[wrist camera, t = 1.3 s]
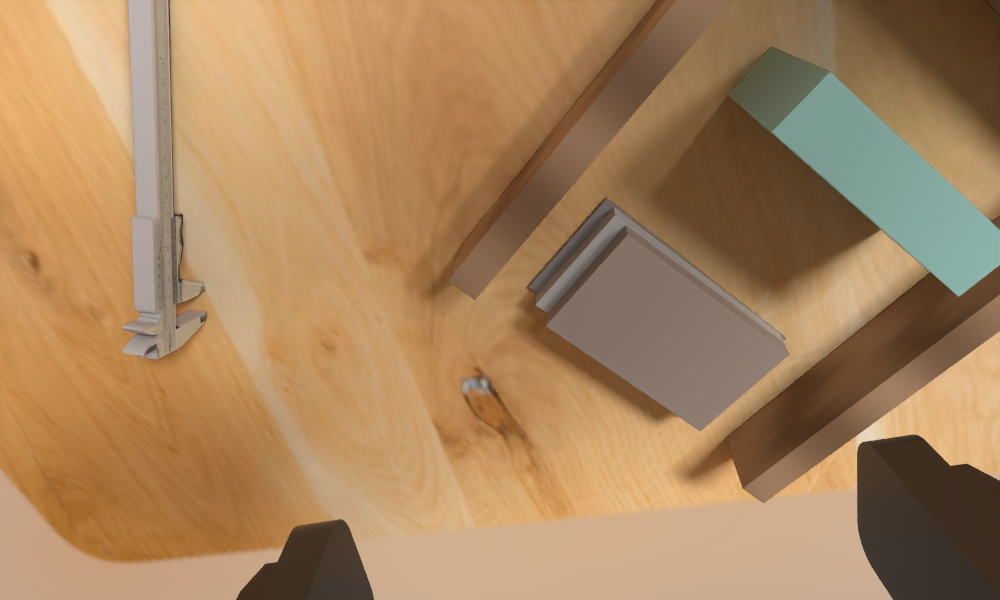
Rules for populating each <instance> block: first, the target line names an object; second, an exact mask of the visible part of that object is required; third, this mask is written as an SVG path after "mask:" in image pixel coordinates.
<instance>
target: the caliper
mask: <svg viewBox="0 0 1000 600" xmlns="http://www.w3.org/2000/svg"><path fill="white" fill-rule="evenodd" d="M128 11H129V37H130V62H131V86H132V110H133V135H134V159H135V183H136V208H137V215H136V216H134V217H133V218H131V221H132V251H133V281H134V307H135V311H140V312H141V316H139V317H138V319H137V321H133V322H130V323H128V324H125V325H123V326H122V329H123V330H126V331H128V332H132V333H139V334H137V335H135V336H134V337H133V338H132V339H131V340H130V341H129V342H128V343H127V345H126V346H125V348H124V350H123V353H126V354H133V355H138V357H145V358H152V359H159V358H161V357H163V356H165V355H167V354H169V353H171V352H173V351H175V350H177V349H179V348H180V347H181V346H182V345H183V344H184V343H185V342H186V341H187V340H188V339H189V338H190V337H191V336H192V335H193V334H194V333H195V332H196V331H197V330H198V329H199V328H200V327H201V326H202V325H203V324H204V323H205V321H206V318H207V312H203V311H196V310H188V311H186V312H184V313H182V314H180V315H178V316H176V305H177V304H178V303H179V302H180V303H182V302H185V301H187V300H189V299H192V298H194V297H196V296H198V295H199V293H202V292H205V287H204V283H203V282H196V281H189V280H182V279H179V265H180V264H181V257H182V250H183V238H182V225H183V214H182V213H176V212H174V189H173V149H172V109H171V63H170V12H169V0H128Z"/></svg>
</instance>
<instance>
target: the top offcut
mask: <svg viewBox="0 0 1000 600" xmlns="http://www.w3.org/2000/svg"><path fill="white" fill-rule="evenodd" d="M546 327H547V328H549V329H550V330H552V331H553V332H555V333H556V334H558V335H559V336H561V337H562V338H564V339H565V340H567V341H568V342H570V343H571V344H572V345H574V346H575V347H577V348H578V349H580V350H581V351H583V352H584V353H586V354H587V355H589V356H590V357H592V358H593V359H595V360H596V361H597V362H599V363H600V364H602V365H603V366H605V367H606V368H608V369H609V370H611V371H612V372H614V373H615V374H617V375H618V376H620V377H621V378H622V379H624V380H625V381H627V382H628V383H630V384H631V385H633V386H634V387H636V388H637V389H639V390H640V391H642V392H643V393H645V394H646V395H647V396H649V397H650V398H652V399H653V400H655V401H656V402H658V403H659V404H661V405H662V406H664V407H665V408H667V409H668V410H670V411H671V412H673V413H674V414H675V415H677V416H678V417H680V418H681V419H683V420H684V421H686V422H687V423H689V424H690V425H692V426H693V427H695V428H696V429H698V430H699V431H701V430H702V429H704V428H705V427H706V426H707V425H708V424H709V423H711V422H712V421H713V420H714V419H715V418H716V417H718V416H719V415H720V414H721V413H722V412H723V411H724V410H726V409H727V408H728V407H729V406H730V405H731V404H733V403H734V402H735V401H736V400H737V399H738V398H740V397H741V396H742V395H743V394H744V393H745V392H746V391H748V390H749V389H750V388H751V387H752V386H753V385H755V384H756V383H757V382H758V381H759V380H760V379H762V378H763V377H764V376H765V375H766V374H767V373H768V372H770V371H771V370H772V369H773V368H774V367H775V366H777V365H778V364H779V363H780V362H781V361H782V360H784V359H785V358H786V357H787V356H788V355H789V352H788V351H787V349H786V347H785V345H784V343H783V342H782V341H781V340H780V339H779V338H777V337H776V336H775V335H773V334H772V333H770V332H769V331H768V330H766V329H765V328H764V327H762V326H761V325H760V324H758V323H757V322H756V321H754V320H753V319H752V318H750V317H749V316H748V315H746V314H745V313H744V312H742V311H741V310H740V309H738V308H737V307H735V306H734V305H733V304H731V303H730V302H729V301H727V300H726V299H725V298H723V297H722V296H721V295H719V294H718V293H717V292H715V291H714V290H713V289H711V288H710V287H709V286H707V285H706V284H705V283H703V282H702V281H700V280H699V279H698V278H696V277H695V276H694V275H692V274H691V273H690V272H688V271H687V270H686V269H684V268H683V267H682V266H680V265H679V264H678V263H676V262H675V261H674V260H672V259H671V258H669V257H668V256H667V255H665V254H664V253H663V252H661V251H660V250H659V249H657V248H656V247H655V246H653V245H652V244H651V243H649V242H648V241H647V240H645V239H644V238H643V237H641V236H640V235H639V234H637V233H636V232H634V231H633V230H632V229H630V228H629V227H628V226H626V225H625V226H624V227H623V229H622V230H621V231H620V232H619V233H618V234H617V235H616V236H615V238H614V239H613V240H612V241H611V242H610V243H609V244H608V245H607V247H606V248H605V249H604V250H603V251H602V252H601V253H600V254H599V256H598V257H597V258H596V259H595V260H594V261H593V262H592V263H591V265H590V266H589V267H588V268H587V269H586V270H585V271H584V272H583V274H582V275H581V276H580V277H579V278H578V279H577V280H576V281H575V283H574V284H573V285H572V286H571V287H570V288H569V289H568V290H567V292H566V293H565V294H564V295H563V296H562V297H561V298H560V300H559V301H558V302H557V303H556V304H555V305H554V306H553V307H552V309H551V310H550V311H549V312H548V313H547V314H546Z"/></svg>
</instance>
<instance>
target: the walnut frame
mask: <svg viewBox="0 0 1000 600" xmlns="http://www.w3.org/2000/svg"><path fill="white" fill-rule="evenodd" d="M729 1H730V0H657V1H656V3H655V4H654V5H653V6H652V8H651V9H650V10H649V11H648V13H647V14H646V15H645V16H644V18H643V19H642V20H641V21H640V23H639V24H638V25H637V26H636V28H635V29H634V30H633V31H632V33H631V34H630V35H629V36H628V38H627V39H626V40H625V41H624V43H623V44H622V45H621V46H620V48H619V49H618V50H617V51H616V53H615V54H614V55H613V56H612V58H611V59H610V60H609V61H608V63H607V64H606V65H605V66H604V68H603V69H602V70H601V71H600V73H599V74H598V75H597V76H596V78H595V79H594V80H593V81H592V83H591V84H590V85H589V86H588V88H587V89H586V90H585V91H584V93H583V94H582V95H581V96H580V98H579V99H578V100H577V101H576V103H575V104H574V105H573V106H572V108H571V109H570V110H569V111H568V113H567V114H566V115H565V116H564V118H563V119H562V120H561V121H560V123H559V124H558V125H557V126H556V128H555V129H554V130H553V131H552V133H551V134H550V135H549V136H548V138H547V139H546V140H545V141H544V143H543V144H542V145H541V146H540V148H539V149H538V150H537V151H536V153H535V154H534V155H533V156H532V158H531V159H530V160H529V161H528V163H527V164H526V165H525V166H524V168H523V169H522V170H521V171H520V173H519V174H518V175H517V176H516V178H515V179H514V180H513V181H512V183H511V184H510V185H509V186H508V188H507V189H506V190H505V191H504V193H503V194H502V195H501V196H500V198H499V199H498V200H497V201H496V203H495V204H494V205H493V206H492V208H491V209H490V210H489V211H488V213H487V214H486V215H485V216H484V218H483V219H482V220H481V221H480V223H479V224H478V225H477V226H476V228H475V229H474V230H473V231H472V233H471V234H470V235H469V236H468V238H467V239H466V240H465V241H464V243H463V244H462V245H461V246H460V249H459V252H458V255H457V257H456V260H455V263H454V266H453V269H452V271H451V274H450V277H449V280H448V281H449V282H450V283H452V284H453V285H455V286H456V287H457V288H459V289H460V290H462V291H463V292H465V293H466V294H467V295H469V296H470V297H472V298H473V299H474V300H475V299H476V298H477V297H478V296H479V294H480V293H481V292H482V291H483V290H484V289H485V287H486V286H487V285H488V284H489V283H490V281H491V280H492V279H493V278H494V277H495V276H496V274H497V273H498V272H499V271H500V270H501V269H502V267H503V266H504V265H505V264H506V263H507V262H508V260H509V259H510V258H511V257H512V256H513V254H514V253H515V252H516V251H517V250H518V249H519V247H520V246H521V245H522V244H523V243H524V242H525V240H526V239H527V238H528V237H529V236H530V235H531V233H532V232H533V231H534V230H535V229H536V228H537V226H538V225H539V224H540V223H541V222H542V220H543V219H544V218H545V217H546V216H547V215H548V213H549V212H550V211H551V210H552V209H553V208H554V206H555V205H556V204H557V203H558V202H559V201H560V199H561V198H562V197H563V196H564V195H565V193H566V192H567V191H568V190H569V189H570V188H571V186H572V185H573V184H574V183H575V182H576V181H577V179H578V178H579V177H580V176H581V175H582V174H583V172H584V171H585V170H586V169H587V168H588V166H589V165H590V164H591V163H592V162H593V161H594V159H595V158H596V157H597V156H598V155H599V154H600V152H601V151H602V150H603V149H604V148H605V147H606V145H607V144H608V143H609V142H610V141H611V140H612V138H613V137H614V136H615V135H616V134H617V132H618V131H619V130H620V129H621V128H622V127H623V125H624V124H625V123H626V122H627V121H628V120H629V118H630V117H631V116H632V115H633V114H634V113H635V111H636V110H637V109H638V108H639V107H640V105H641V104H642V103H643V102H644V101H645V100H646V98H647V97H648V96H649V95H650V94H651V93H652V91H653V90H654V89H655V88H656V87H657V86H658V84H659V83H660V82H661V81H662V80H663V78H664V77H665V76H666V75H667V74H668V73H669V71H670V70H671V69H672V68H673V67H674V66H675V64H676V63H677V62H678V61H679V60H680V59H681V57H682V56H683V55H684V54H685V53H686V52H687V50H688V49H689V48H690V47H691V46H692V44H693V43H694V42H695V41H696V40H697V39H698V37H699V36H700V35H701V34H702V33H703V32H704V30H705V29H706V28H707V27H708V26H709V25H710V23H711V22H712V21H713V20H714V19H715V17H716V16H717V15H718V14H719V13H720V12H721V10H722V9H723V8H724V7H725V6H726V5H727V3H728V2H729ZM986 1H987V2H988V3H989V4H990V5H991V7H992V8H993V9H994V10H995V11H996V12H997V13H998V14H999V15H1000V0H986ZM993 224H994V225H995V226H996V227H997V228H998V229H999V230H1000V217H999V218H998V219H996V220H995V221H994V222H993ZM999 331H1000V265H999V266H998V267H997V268H995V269H994V270H993V271H991V272H990V273H989V274H988V275H986V276H985V277H984V278H982V279H981V280H980V281H979V282H977V283H976V284H975V285H973V286H972V287H971V288H969V289H968V290H967V291H966V292H964V293H963V294H962V295H960V296H958V295H956V294H955V293H954V292H953V291H952V290H951V289H949V288H948V287H947V286H946V285H945V284H944V283H942V282H941V281H940V280H939V279H938V278H937V277H935V276H934V275H933V274H932V273H930V274H928V275H927V276H926V277H925V278H923V279H922V280H921V281H920V282H918V283H917V284H916V285H915V286H913V287H912V288H911V289H910V290H908V291H907V292H906V293H905V294H904V295H902V296H901V297H900V298H899V299H897V300H896V301H895V302H894V303H892V304H891V305H890V306H889V307H887V308H886V309H885V310H884V311H882V312H881V313H880V314H879V315H878V316H876V317H875V318H874V319H873V320H871V321H870V322H869V323H868V324H866V325H865V326H864V327H863V328H861V329H860V330H859V331H858V332H856V333H855V334H854V335H853V336H852V337H850V338H849V339H848V340H847V341H845V342H844V343H843V344H842V345H840V346H839V347H838V348H837V349H835V350H834V351H833V352H832V353H831V354H829V355H828V356H827V357H826V358H824V359H823V360H822V361H821V362H819V363H818V364H817V365H816V366H814V367H813V368H812V369H811V370H809V371H808V372H807V373H806V374H805V375H803V376H802V377H801V378H800V379H798V380H797V381H796V382H795V383H793V384H792V385H791V386H790V387H788V388H787V389H786V390H785V391H783V392H782V393H781V394H780V395H779V396H777V397H776V398H775V399H774V400H772V401H771V402H770V403H769V404H767V405H766V406H765V407H764V408H762V409H761V410H760V411H759V412H758V413H756V414H755V415H754V416H753V417H751V418H750V419H749V420H748V421H746V422H745V423H744V424H743V425H741V426H740V427H739V428H738V429H736V430H735V431H734V432H733V433H732V434H730V435H729V436H728V437H727V438H726V440H727V443H728V446H729V449H730V452H731V455H732V458H733V461H734V464H735V467H736V470H737V473H738V476H739V479H740V482H741V485H742V488H743V489H744V490H746V491H747V492H748V493H750V494H751V495H753V496H754V497H755V498H757V499H758V500H760V501H761V502H763V503H765V502H766V501H768V500H769V499H770V498H772V497H773V496H774V495H776V494H777V493H778V492H780V491H781V490H783V489H784V488H785V487H787V486H788V485H789V484H791V483H792V482H794V481H795V480H796V479H798V478H799V477H800V476H802V475H803V474H805V473H806V472H807V471H809V470H810V469H811V468H813V467H814V466H815V465H817V464H818V463H820V462H821V461H822V460H824V459H825V458H826V457H828V456H829V455H831V454H832V453H833V452H835V451H836V450H837V449H839V448H840V447H842V446H843V445H844V444H846V443H847V442H848V441H850V440H851V439H852V438H854V437H855V436H857V435H858V434H859V433H861V432H862V431H863V430H865V429H866V428H868V427H869V426H870V425H872V424H873V423H874V422H876V421H877V420H878V419H880V418H881V417H883V416H884V415H885V414H887V413H888V412H889V411H891V410H892V409H894V408H895V407H896V406H898V405H899V404H900V403H902V402H903V401H905V400H906V399H907V398H909V397H910V396H911V395H913V394H914V393H915V392H917V391H918V390H920V389H921V388H922V387H924V386H925V385H926V384H928V383H929V382H931V381H932V380H933V379H935V378H936V377H937V376H939V375H940V374H942V373H943V372H944V371H946V370H947V369H948V368H950V367H951V366H952V365H954V364H955V363H957V362H958V361H959V360H961V359H962V358H963V357H965V356H966V355H968V354H969V353H970V352H972V351H973V350H974V349H976V348H977V347H979V346H980V345H981V344H983V343H984V342H985V341H987V340H988V339H989V338H991V337H992V336H994V335H995V334H996V333H998V332H999Z"/></svg>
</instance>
